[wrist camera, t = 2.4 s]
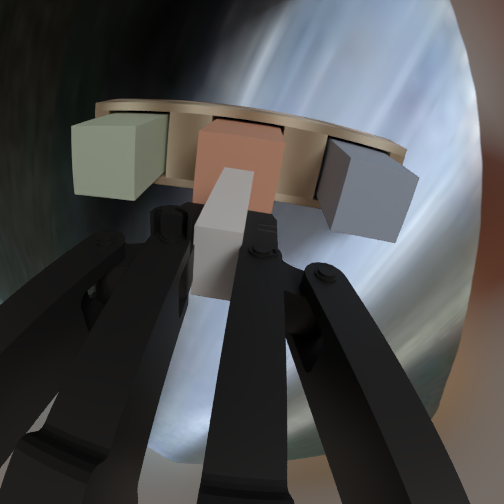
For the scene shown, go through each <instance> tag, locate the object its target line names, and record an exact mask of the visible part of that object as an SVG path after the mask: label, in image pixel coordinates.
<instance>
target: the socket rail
mask: <svg viewBox="0 0 504 504" xmlns="http://www.w3.org/2000/svg"><path fill="white" fill-rule="evenodd" d="M128 110H135V111H163V112H170V120H169V131H168V145H167V160H166V171H165V172H164V173H163V174H161V175H160V176H159V177H158V178H157V179H156V180H155V181H154V182H153V183H152V184H161V185H169V186H177V187H185V188H193V189H194V177H195V166H196V155H197V145H198V136H199V131H200V130H201V129H202V128H204V127H205V126H207V125H208V124H210V123H211V122H213V121H214V120H216V119H217V118H219V116H222V117H230V118H238V119H245V120H252V121H259V122H265V123H271V124H276V125H281V132H282V134H283V137H284V140H285V143H286V144H285V149H284V154H283V159H282V164H281V169H280V174H279V179H278V184H277V189H276V194H275V199H274V201H279V202H285V203H291V204H296V205H302V206H307V207H313V208H318V209H322V208H321V206H320V203H319V201H318V199H317V196H316V194H315V191H316V187H317V186H316V184H317V180H318V176H319V171H320V167H321V163H322V159H323V155H324V150H325V146H326V142H327V137H328V135H329V136H334V137H338V138H342V139H346V140H349V141H353V142H357V143H361V144H364V145H368V146H371V147H374V150H378V151H381V152H383V153H385V154H386V155H388V156H389V157H391V158H392V159H394V160H395V161H397V162H398V163H400V164H401V165H402V164H403V161H404V158H405V154H406V151H407V149H405V148H404V147H402V146H400V145H398V144H396V143H394V142H392V141H391V140H388V139H385V138H382V137H379V136H375V135H372V134H369V133H365V132H362V131H358V130H355V129H351V128H347V127H344V126H340V125H336V124H332V123H328V122H323V121H319V120H315V119H310V118H306V117H301V116H296V115H291V114H286V113H280V112H275V111H269V110H263V109H256V108H250V107H242V106H235V105H227V104H218V103H208V102H196V101H183V100H164V99H114V100H108V101H103V102H98V103H96V110H95V118H99V117H102V116H106V115H109V114H113V113H116V112H128Z"/></svg>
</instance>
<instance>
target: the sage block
mask: <svg viewBox="0 0 504 504" xmlns="http://www.w3.org/2000/svg"><path fill="white" fill-rule="evenodd" d="M169 120H170V114H161V113H133V112H116V113H113V114H109V115H106V116H102V117H99V118H95V119H92V120H89V121H86V122H83V123H79V124H76V125H73V126H71V131H72V165H73V180H74V192H75V194H77V195H87V196H96V197H106V198H114V199H123V200H131V201H135V200H136V199H137V198H138V197H139V196H140V195H141V194H142V193H143V192H144V191H145V190H146V189H147V188H148V187H149V186H150V185H151V184H152V183H153V182H154V181H155V180H156V179H157V178H158V177H159V176H160V175H161V174H163V173H164V172H165V171H166V160H167V145H168V131H169Z"/></svg>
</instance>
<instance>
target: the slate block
mask: <svg viewBox="0 0 504 504" xmlns="http://www.w3.org/2000/svg"><path fill="white" fill-rule="evenodd" d="M418 180H419V177H418V176H416V175H415V174H414V173H412V172H411V171H410V170H408V169H407V168H405V167H404V166H403V165H401V164H400V163H398V162H397V161H395V160H394V159H392V158H391V157H389V156H388V155H386V154H385V153H383V152H381V151H378V150H374V149H371V148H367V147H364V146H360V145H356V144H353V143H349V142H345V141H341V140H337V139H333V138H329V137H328V141H327V145H326V150H325V154H324V158H323V162H322V166H321V171H320V175H319V179H318V183H317V187H316V191H315V194H316V196H317V199H318V201H319V203H320V206H321V208H322V211H323V213H324V216H325V218H326V221H327V223H328V226H329V228H330V231H335V232H340V233H346V234H351V235H356V236H362V237H367V238H372V239H377V240H382V241H387V242H392V243H395V242H396V240H397V237H398V235H399V232H400V230H401V227H402V225H403V222H404V219H405V217H406V214H407V212H408V209H409V206H410V203H411V201H412V198H413V195H414V192H415V189H416V186H417V183H418Z"/></svg>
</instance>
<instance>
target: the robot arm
mask: <svg viewBox="0 0 504 504" xmlns="http://www.w3.org/2000/svg"><path fill="white" fill-rule="evenodd" d="M253 176H254V172H253V171H247V170H240V169H234V168H227V167H224V169H223V171H222V173H221V175H220V177H219V179H218V181H217V182H216V184H215V186H214V188H213V190H212V192H211V194H210V196H209V198H208V200H207V202H206V204H199V203H192V202H187V203H185V204H183V205H181V206H173V205H167V206H160V207H157V208H154V209H153V210H152V211H150V222H151V235H150V237H149V238H148V240H147V241H146V243H138V244H126V240H125V236H124V235H123V234H122V233H120V232H118V231H113V230H103V231H100V232H97V233H95V234H93V235H91V236H89V237H88V238H86V239H85V240H83V241H82V242H81V243H79V244H78V245H76V246H75V247H73V248H72V249H71V250H69V251H68V252H67V253H65V254H64V255H62V256H61V257H60V258H58V259H57V260H56V261H54V262H53V263H52V264H50V265H49V266H48V267H46V268H45V269H44V270H42V271H41V272H40V273H39V274H37V275H36V276H35V277H33V278H32V279H31V280H30V281H28V282H27V283H26V284H25V285H24V286H22V287H21V288H20V289H19V290H17V291H16V292H15V293H14V294H13V295H11V296H10V297H9V298H8V299H7V300H6V301H4V302H3V303H2V304H1V305H0V468H1V466H2V465H3V464H4V462H5V461H6V460H7V459H8V457H9V456H10V455H11V453H12V452H13V450H14V452H13V454H12V457H11V459H10V462H9V465H8V468H7V470H6V473H5V476H4V479H3V482H2V485H1V488H0V504H138V493H137V487H138V481H139V477H140V473H141V468H142V464H143V460H144V456H145V452H146V448H147V444H148V440H149V436H150V433H151V429H152V425H153V421H154V418H155V414H156V410H157V407H158V403H159V399H160V396H161V392H162V389H163V385H164V382H165V378H166V375H167V371H168V368H169V365H170V361H171V358H172V354H173V351H174V348H175V345H176V341H177V338H178V335H179V332H180V328H181V325H182V322H183V319H184V316H185V313H186V309H187V306H188V294H189V290H190V287H191V294H193V295H198V296H204V297H210V298H216V299H222V300H228V301H230V306H229V311H228V317H227V323H226V329H225V335H224V341H223V346H222V352H221V358H220V364H219V370H218V376H217V382H216V389H215V395H214V401H213V407H212V413H211V419H210V426H209V432H208V438H207V445H206V451H205V458H204V464H203V471H202V478H201V483H200V488H199V494H198V499H197V504H294V500H293V499H292V497H291V495H290V494H289V492H288V488H287V377H286V340H287V343H288V346H289V348H290V351H291V354H292V357H293V360H294V363H295V366H296V369H297V372H298V375H299V378H300V380H301V383H302V386H303V389H304V392H305V395H306V398H307V401H308V404H309V407H310V410H311V413H312V416H313V418H314V421H315V424H316V427H317V430H318V433H319V436H320V439H321V442H322V445H323V448H324V451H325V454H326V457H327V460H328V463H329V466H330V469H331V471H332V474H333V477H334V480H335V483H336V486H337V489H338V492H339V495H340V498H341V501H342V504H470V502H469V500H468V497H467V495H466V493H465V491H464V488H463V486H462V483H461V481H460V479H459V477H458V474H457V472H456V470H455V468H454V466H453V463H452V461H451V459H450V457H449V455H448V453H447V451H446V449H445V447H444V445H443V443H442V441H441V439H440V437H439V435H438V433H437V431H436V429H435V427H434V425H433V423H432V421H431V419H430V417H429V415H428V413H427V411H426V409H425V408H424V406H423V404H422V402H421V400H420V398H419V396H418V395H417V393H416V391H415V389H414V387H413V386H412V384H411V382H410V380H409V378H408V377H407V375H406V373H405V371H404V370H403V368H402V366H401V364H400V363H399V361H398V359H397V358H396V356H395V354H394V353H393V351H392V349H391V348H390V346H389V344H388V343H387V341H386V339H385V338H384V336H383V334H382V333H381V331H380V329H379V328H378V326H377V324H376V323H375V321H374V320H373V318H372V316H371V315H370V313H369V312H368V310H367V309H366V307H365V305H364V304H363V302H362V301H361V299H360V298H359V296H358V295H357V293H356V291H355V290H354V288H353V287H352V285H351V284H350V282H349V281H348V279H347V278H346V276H345V275H344V274H343V273H342V272H341V271H340V270H339V269H337V268H336V267H334V266H333V265H329V264H327V263H320V262H317V263H311V264H309V265H307V266H306V268H305V270H304V271H303V270H300V269H297V268H295V267H293V266H290V265H289V264H287V263H285V262H284V261H283V260H282V254H281V252H280V251H279V250H278V242H277V220H276V219H275V218H274V216H273V215H272V214H269V213H263V212H257V211H250V210H248V206H249V200H250V194H251V188H252V182H253ZM92 286H94V290H95V292H94V293H93V294H91V295H88V292H87V290H89V289H90V288H91V287H92ZM285 337H286V339H285ZM58 392H59V393H58ZM57 393H58V395H57ZM55 395H57V397H56V399H55V401H54V403H53V406H52V408H51V410H50V412H49V414H48V417H47V419H46V422H45V424H44V425H43V427H42V428H41V429H40V430H39V431H36V432H30V433H27V434H26V432H27V431H28V430H29V429H30V428H31V426H32V425H33V424H34V422H35V421H36V420H37V419H38V417H39V416H40V414H41V413H42V412H43V411H44V410H45V408H46V407H47V405H48V404H49V403H50V402H51V401H52V399H53V398H54V397H55Z"/></svg>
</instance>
